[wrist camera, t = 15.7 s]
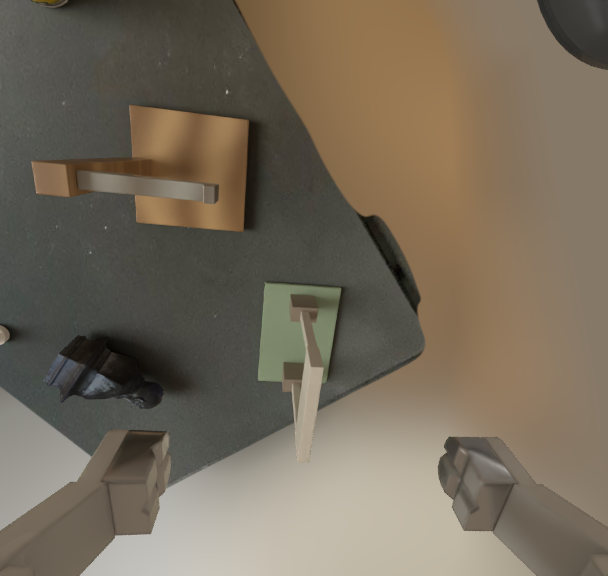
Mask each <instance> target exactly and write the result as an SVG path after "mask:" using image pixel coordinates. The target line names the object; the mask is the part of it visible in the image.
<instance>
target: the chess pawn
mask: <svg viewBox="0 0 608 576" xmlns="http://www.w3.org/2000/svg"><path fill="white" fill-rule="evenodd" d="M9 337H10V334H9V331H8V330H7V329H6V328H5V327H3V326H1V325H0V344H3V343H4V342H6V341H7V340H8V339H9Z"/></svg>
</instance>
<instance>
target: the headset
mask: <svg viewBox="0 0 608 576" xmlns="http://www.w3.org/2000/svg"><path fill="white" fill-rule="evenodd" d="M289 313H290V321H291V322H301V326H302V332H303V337H304V342H305V348H306V355H305V363H291V362H283V368H282V385H283V392H292V399H293V410H294V420H295V430H296V431H295V441H296V453H297V462H309V459H310V452H311V446H312V440H313V433H314V427H315V421H316V414H317V408H318V401H319V395H320V389H321V382H322V376H323V370H324V367H323V363H322V359H321V355H320V351H319V347H317V343H316V339H315V335H314V331H313V327H312V323H316V322H317V315H318V306H317V303H316V300H315V296H309V295H294V294H290V302H289Z"/></svg>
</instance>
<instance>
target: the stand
mask: <svg viewBox="0 0 608 576" xmlns="http://www.w3.org/2000/svg"><path fill="white" fill-rule="evenodd" d="M129 106H130V122H131V137H132V153H133V157H125V158H96V159H68V160H39V161H32V167H33V174H34V180H35V186H36V192H37V194H42V195H52V196H63V197H73V196H77V195H82V194H86V193H91V192H95V191H101V192H111V193H121V194H131V195H135V200H136V216H137V223H149V224H160V225H171V226H182V227H194V228H205V229H216V230H228V231H239V232H243V231H244V221H245V201H246V180H247V159H248V139H249V120H243V119H236V118H228V117H220V116H213V115H205V114H197V113H189V112H182V111H174V110H166V109H159V108H151V107H143V106H135V105H129Z"/></svg>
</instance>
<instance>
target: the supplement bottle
mask: <svg viewBox="0 0 608 576" xmlns="http://www.w3.org/2000/svg"><path fill="white" fill-rule="evenodd" d="M31 1H33V2H35V3H37V4H39V5H41V6H44V7H50V8H54V7H59V6H62V5H64V4H65V3H67V2H68V1H69V0H31Z"/></svg>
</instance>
